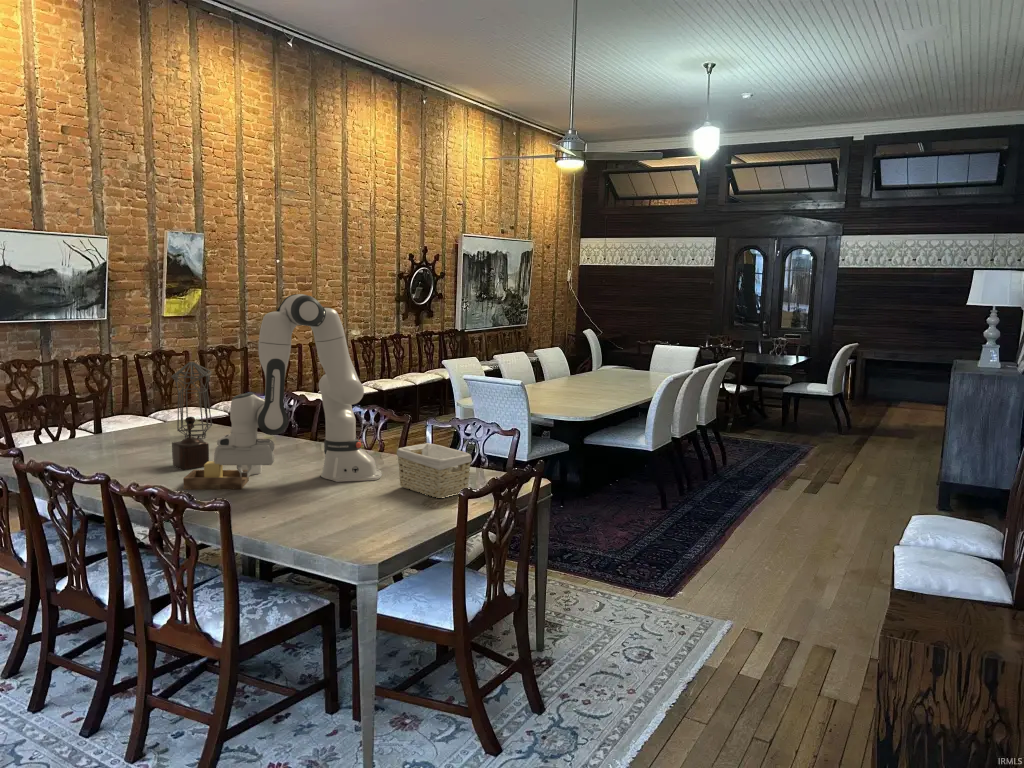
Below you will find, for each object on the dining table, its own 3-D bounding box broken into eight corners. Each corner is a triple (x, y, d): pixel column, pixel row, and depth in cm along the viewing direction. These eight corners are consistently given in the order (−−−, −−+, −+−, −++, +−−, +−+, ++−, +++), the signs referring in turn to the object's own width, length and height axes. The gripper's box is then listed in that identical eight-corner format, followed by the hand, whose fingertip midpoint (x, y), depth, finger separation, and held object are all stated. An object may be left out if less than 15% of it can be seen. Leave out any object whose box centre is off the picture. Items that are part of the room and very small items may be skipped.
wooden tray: (248, 480, 276) (248, 470, 276) (241, 489, 264) (241, 478, 264) (193, 480, 274) (193, 469, 273) (183, 489, 262) (183, 478, 262)
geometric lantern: (210, 440, 341) (207, 363, 336) (173, 442, 338) (169, 364, 333) (216, 433, 357) (212, 359, 351) (180, 434, 353) (176, 360, 348)
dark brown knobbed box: (211, 466, 296) (210, 420, 293) (183, 470, 288) (182, 423, 285) (194, 459, 306) (193, 415, 304) (166, 463, 298) (165, 418, 296)
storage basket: (472, 493, 270) (474, 453, 268) (438, 502, 258) (439, 459, 256) (428, 480, 286) (429, 442, 284) (394, 487, 274) (395, 447, 272)
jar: (243, 476, 282) (243, 444, 281) (234, 471, 288) (234, 440, 287) (266, 472, 288) (266, 442, 287) (257, 468, 294) (257, 438, 293)
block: (222, 477, 272) (222, 461, 271) (219, 481, 267) (218, 464, 266) (208, 477, 271) (207, 461, 270) (204, 481, 266) (204, 464, 265)
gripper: (275, 437, 273) (276, 474, 275) (216, 437, 270) (217, 474, 272) (272, 440, 266) (273, 479, 268) (212, 440, 264) (213, 479, 266)
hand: (244, 477), depth 270 cm, fingers closed
